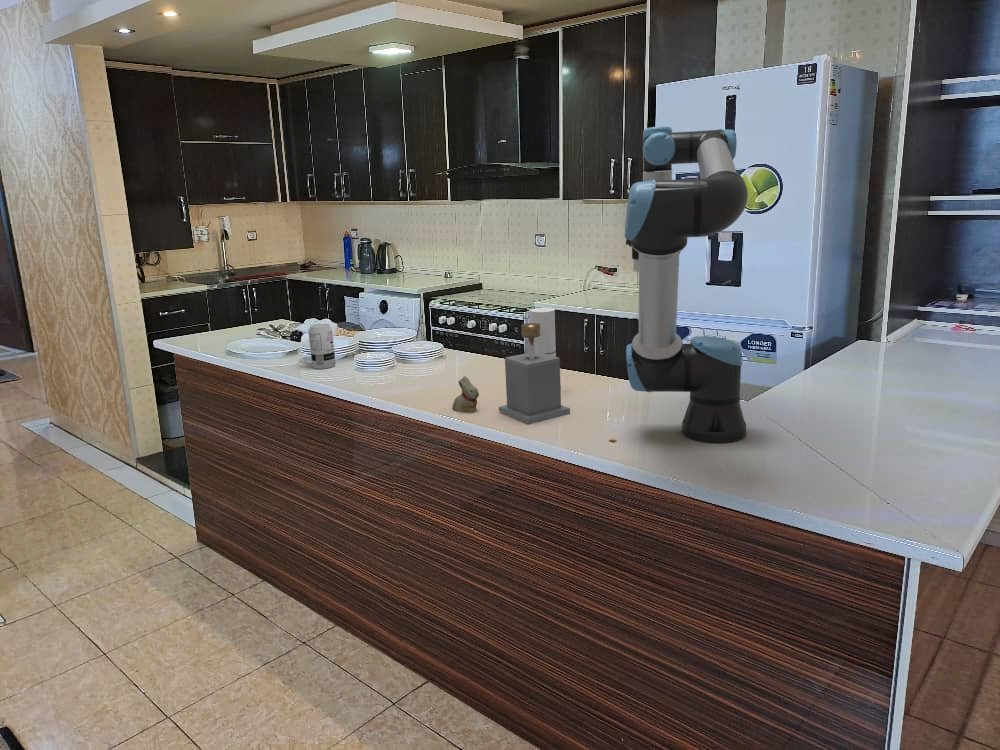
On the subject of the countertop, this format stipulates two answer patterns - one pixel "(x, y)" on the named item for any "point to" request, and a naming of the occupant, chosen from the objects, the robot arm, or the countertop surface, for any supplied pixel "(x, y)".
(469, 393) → the chocolate bunny
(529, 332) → the plunger
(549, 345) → the cylindrical container
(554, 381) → the block
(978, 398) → the countertop surface
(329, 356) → the supplement can
